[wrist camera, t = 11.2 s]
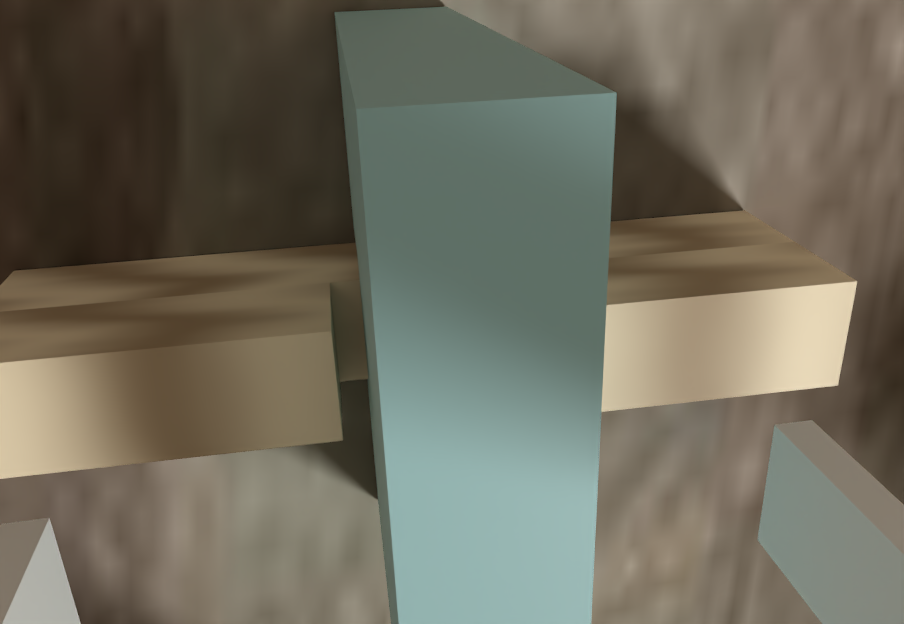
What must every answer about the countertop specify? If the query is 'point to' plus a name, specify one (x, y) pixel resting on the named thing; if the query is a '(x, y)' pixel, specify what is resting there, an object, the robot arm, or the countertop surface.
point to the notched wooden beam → (343, 341)
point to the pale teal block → (479, 311)
